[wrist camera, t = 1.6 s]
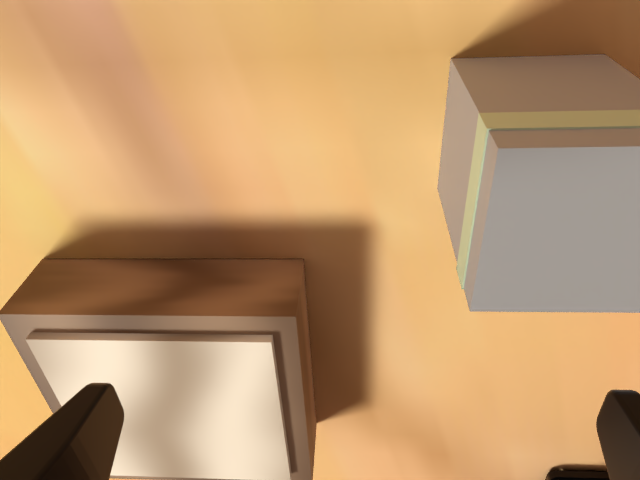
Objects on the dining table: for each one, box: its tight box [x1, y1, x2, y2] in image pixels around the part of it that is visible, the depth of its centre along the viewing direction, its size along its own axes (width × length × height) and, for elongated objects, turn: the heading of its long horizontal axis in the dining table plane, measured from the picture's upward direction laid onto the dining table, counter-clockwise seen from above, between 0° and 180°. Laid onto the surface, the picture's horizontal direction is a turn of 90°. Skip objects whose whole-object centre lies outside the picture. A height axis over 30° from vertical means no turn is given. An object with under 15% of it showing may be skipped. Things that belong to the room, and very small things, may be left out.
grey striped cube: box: [437, 54, 640, 313], centre depth 16 cm, size 5×5×7 cm
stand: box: [0, 259, 316, 480], centre depth 25 cm, size 12×12×4 cm
